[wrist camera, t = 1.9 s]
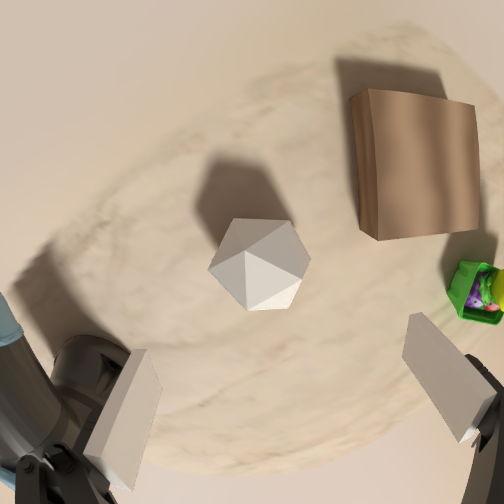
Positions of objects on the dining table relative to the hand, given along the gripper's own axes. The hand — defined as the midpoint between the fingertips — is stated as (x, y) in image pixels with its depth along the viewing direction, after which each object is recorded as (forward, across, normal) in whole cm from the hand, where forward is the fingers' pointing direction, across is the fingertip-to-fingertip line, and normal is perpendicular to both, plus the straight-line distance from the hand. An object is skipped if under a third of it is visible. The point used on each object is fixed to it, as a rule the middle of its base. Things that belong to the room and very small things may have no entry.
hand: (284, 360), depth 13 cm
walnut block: (+18, +18, +8) cm, 26 cm away
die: (+18, 0, 0) cm, 18 cm away
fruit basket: (+18, +30, -8) cm, 36 cm away
